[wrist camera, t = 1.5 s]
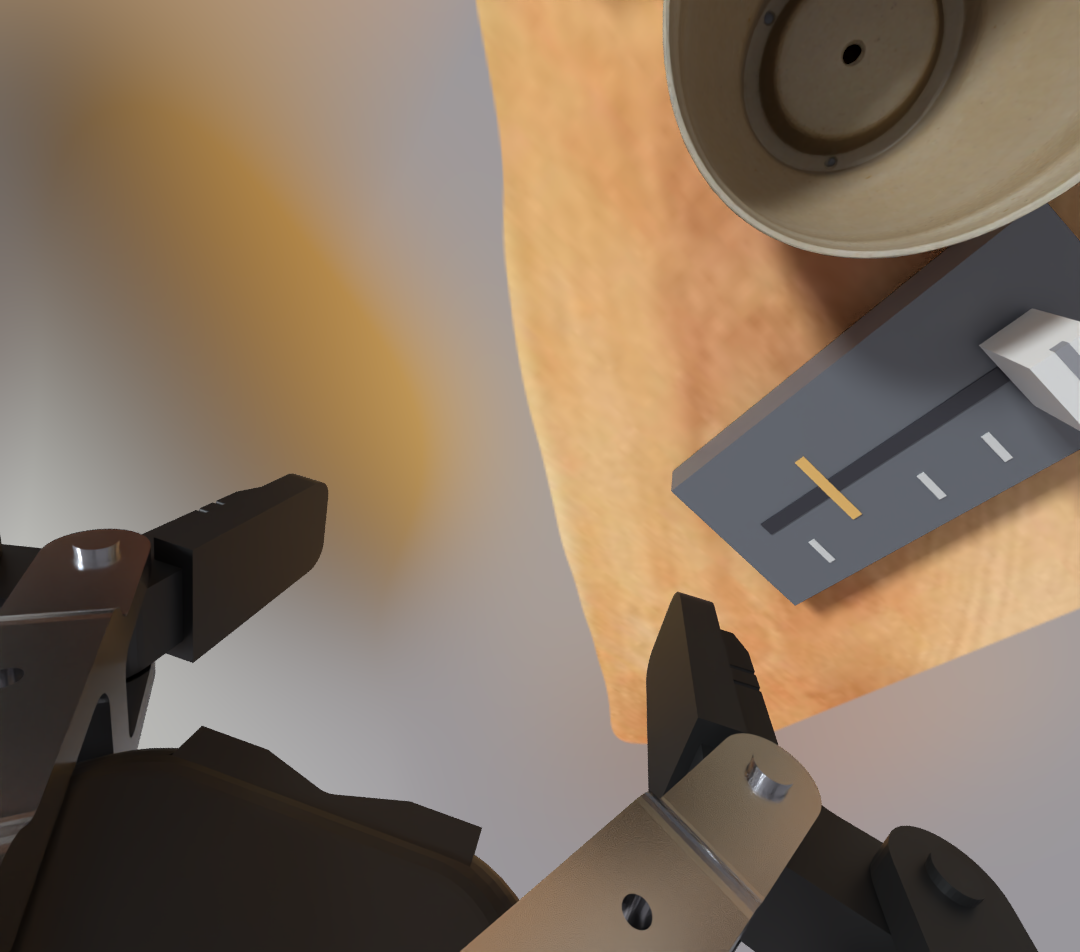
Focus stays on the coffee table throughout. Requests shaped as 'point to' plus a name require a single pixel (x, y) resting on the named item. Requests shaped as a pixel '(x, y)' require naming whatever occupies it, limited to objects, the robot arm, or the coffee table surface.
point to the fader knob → (1042, 361)
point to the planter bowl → (878, 115)
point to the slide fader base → (892, 418)
